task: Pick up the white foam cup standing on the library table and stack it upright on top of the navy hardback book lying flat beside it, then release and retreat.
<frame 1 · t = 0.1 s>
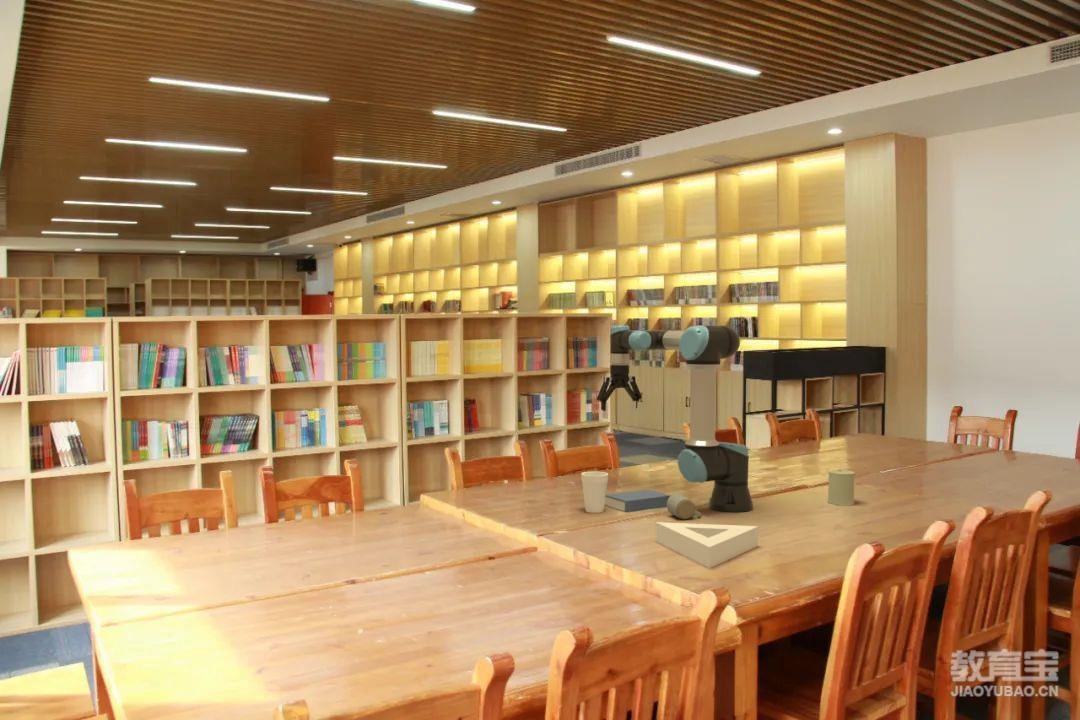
hand: (619, 417, 333), 28 cm above the table, tool pointing down, fingers open, 13 cm apart
book: (637, 507, 301), on the table
foam cup: (594, 511, 293), on the table
triangle block: (720, 552, 243), on the table
ceramic mug: (684, 517, 284), on the table
can: (840, 503, 307), on the table
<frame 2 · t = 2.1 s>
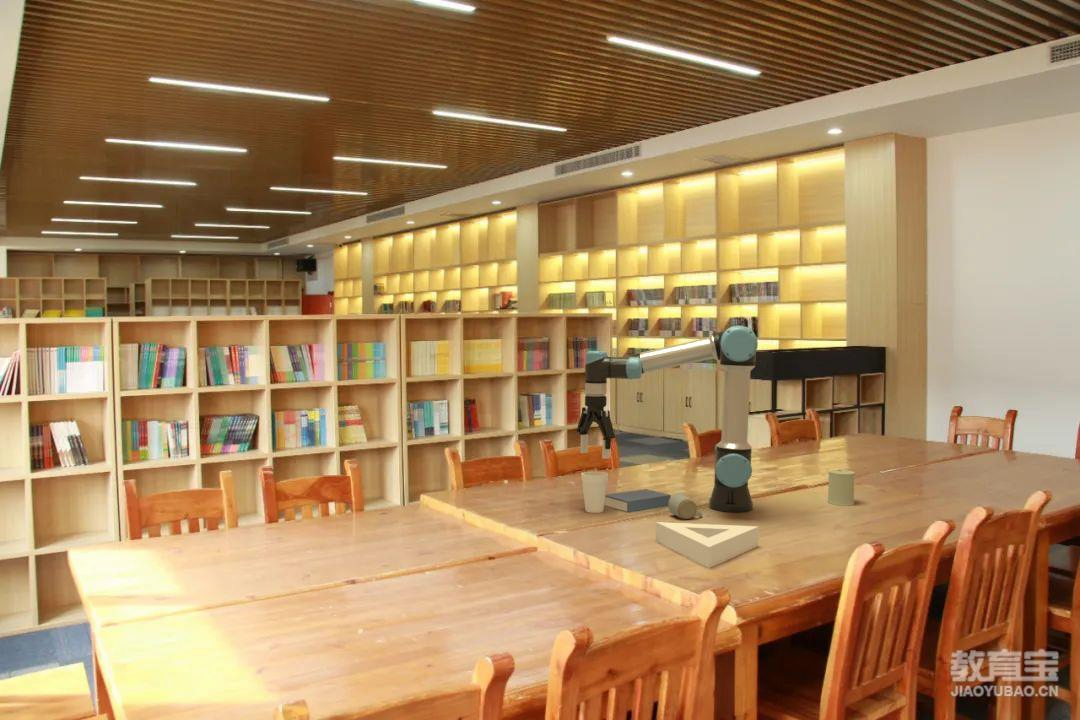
hand: (595, 455, 293), 19 cm above the table, tool pointing down, fingers open, 13 cm apart
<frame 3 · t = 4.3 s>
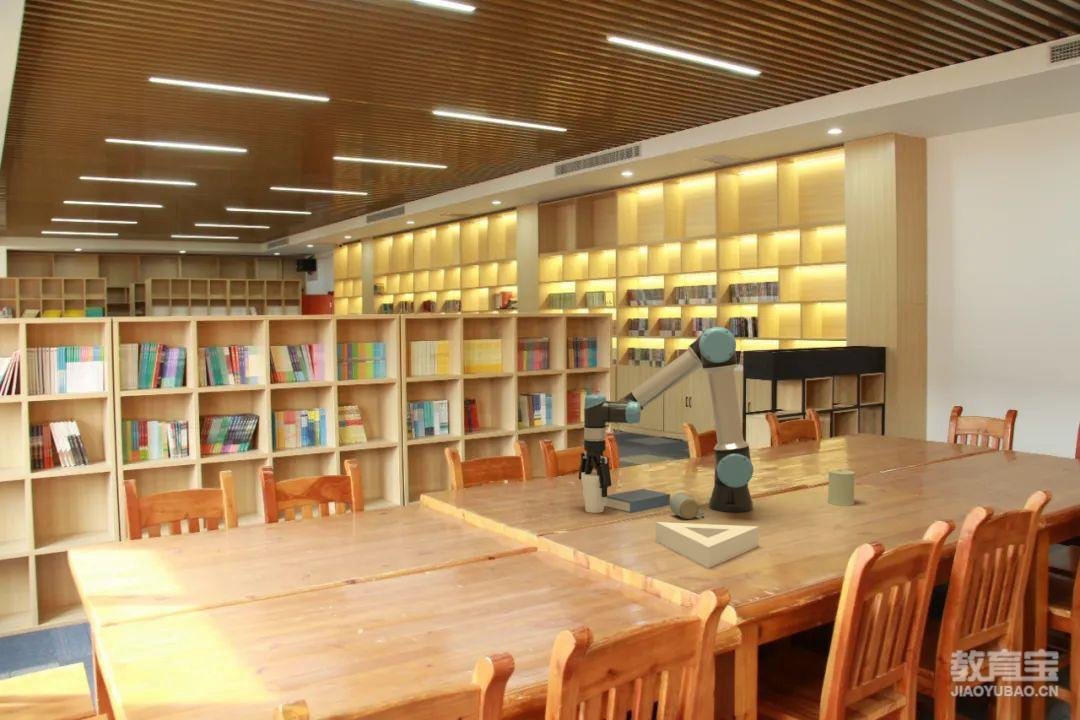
hand: (594, 503, 293), 3 cm above the table, tool pointing down, fingers closed on foam cup, 9 cm apart
foam cup: (594, 511, 293), on the table, touching gripper
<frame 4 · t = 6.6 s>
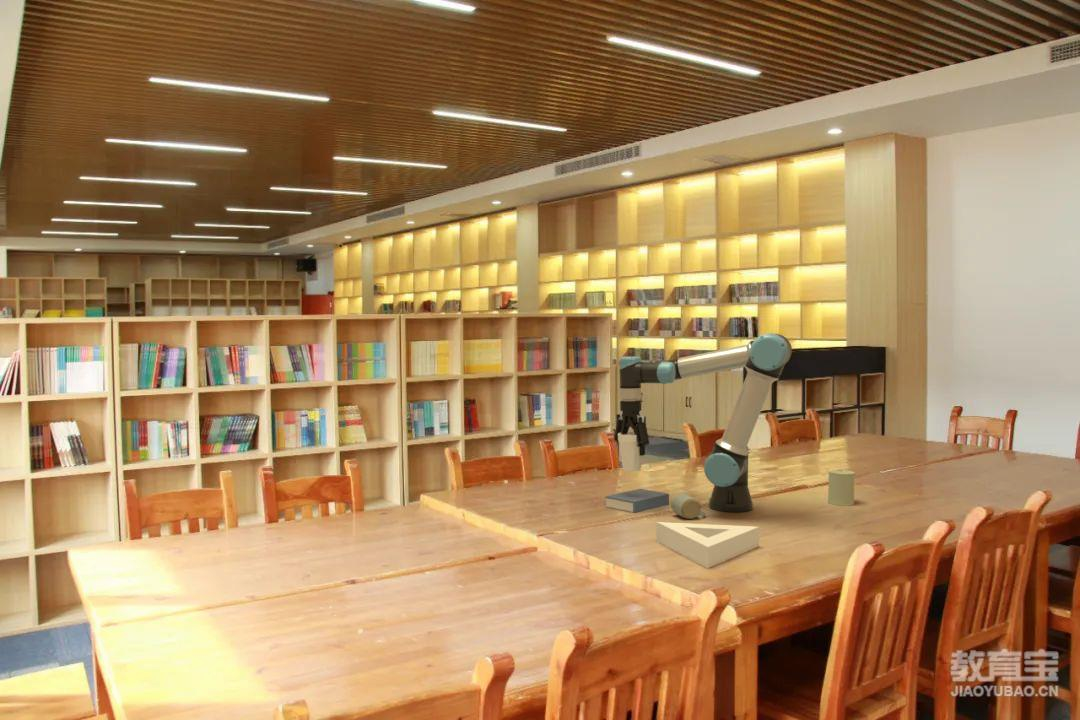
hand: (631, 462, 298), 16 cm above the table, tool pointing down, fingers closed on foam cup, 9 cm apart
foam cup: (631, 470, 299), point 13 cm above the table, touching gripper
when the fingers open (8 cm above the table, at t = 9.0 s): foam cup drops 2 cm, resting on book.
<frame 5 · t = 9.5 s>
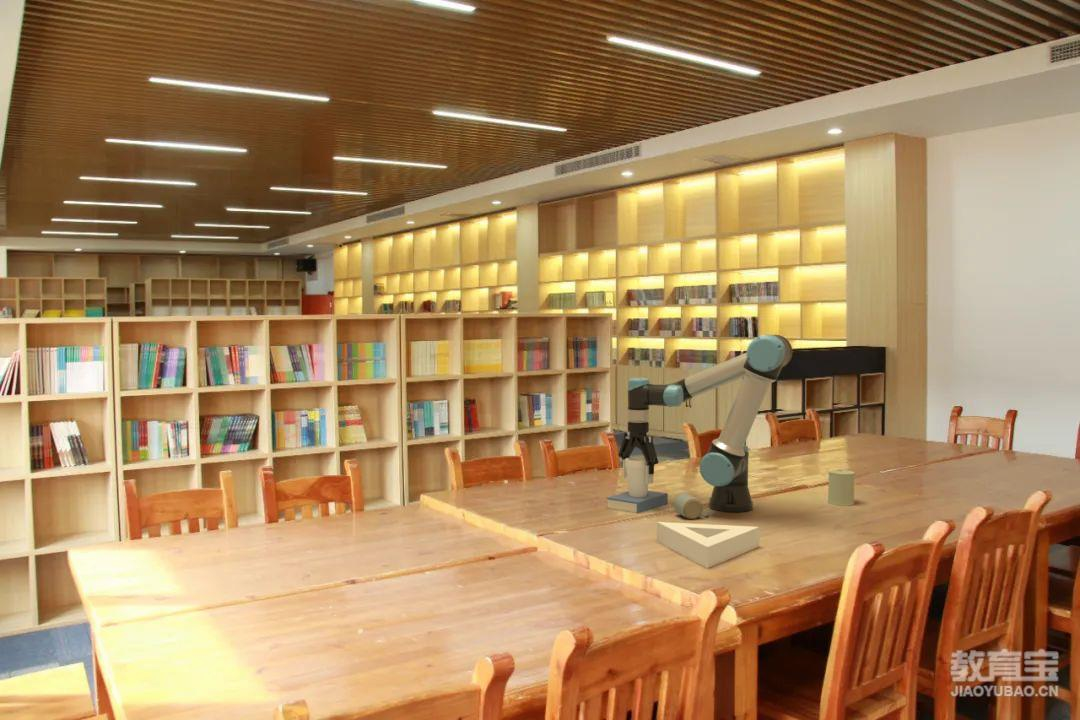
hand: (637, 480, 301), 9 cm above the table, tool pointing down, fingers open, 13 cm apart
book: (637, 507, 301), on the table, touching foam cup
foam cup: (638, 495, 301), point 4 cm above the table, touching book
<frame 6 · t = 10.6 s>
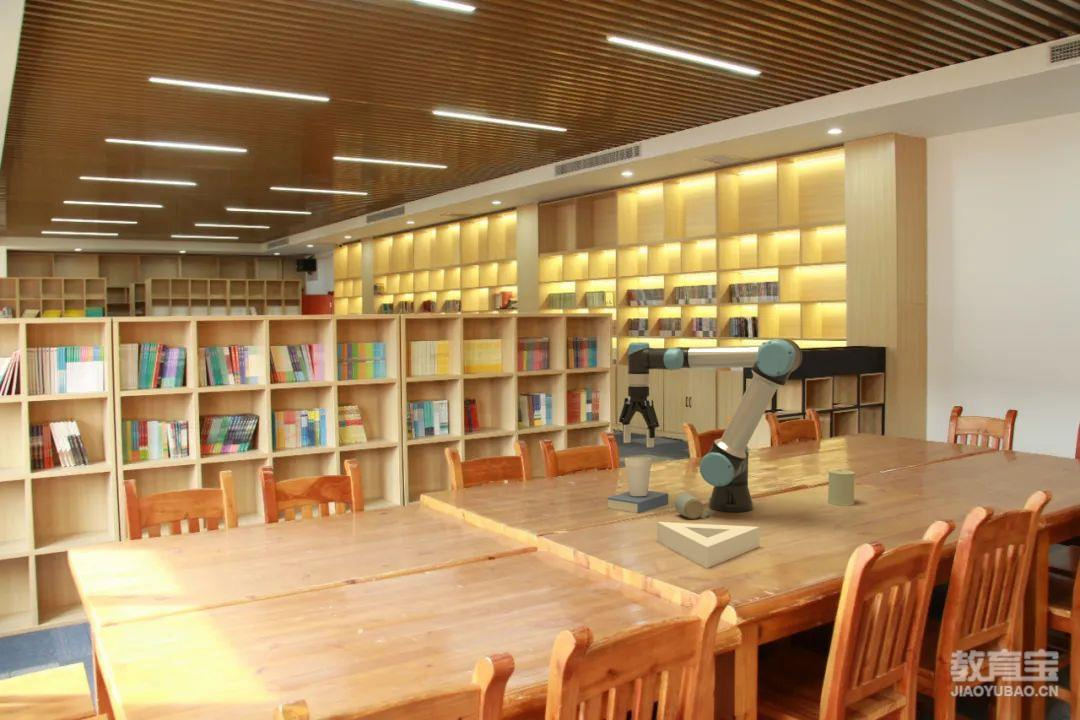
hand: (638, 444, 300), 22 cm above the table, tool pointing down, fingers open, 13 cm apart
book: (638, 507, 301), on the table
foam cup: (638, 495, 301), point 4 cm above the table
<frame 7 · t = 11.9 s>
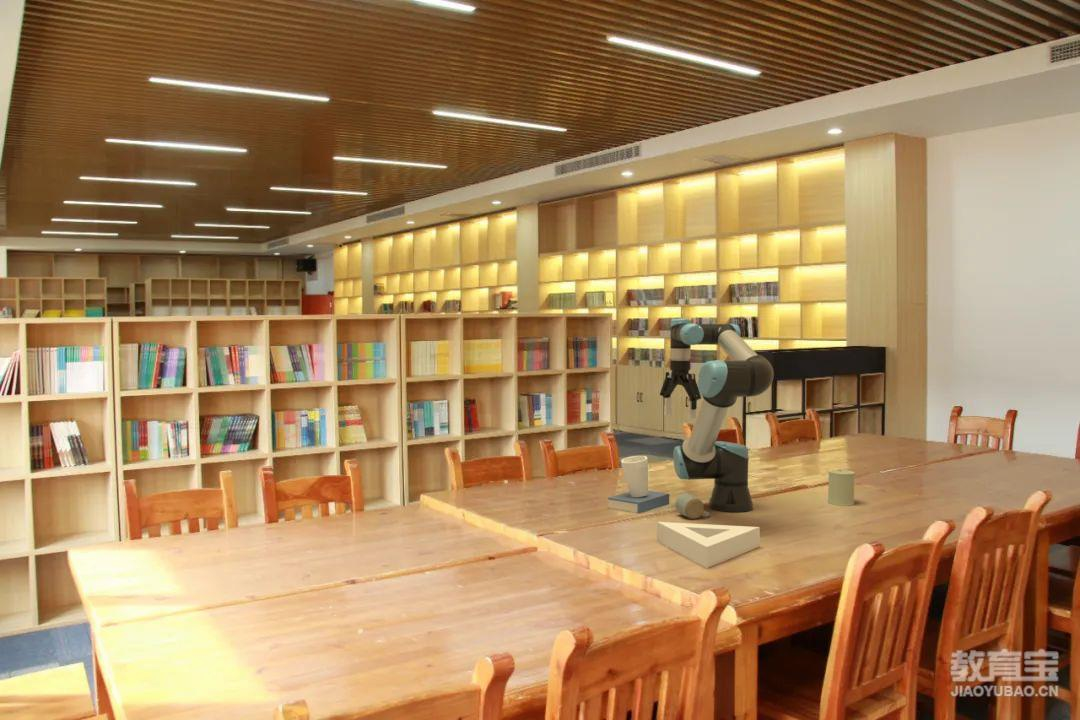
hand: (679, 416, 313), 31 cm above the table, tool pointing down, fingers open, 13 cm apart
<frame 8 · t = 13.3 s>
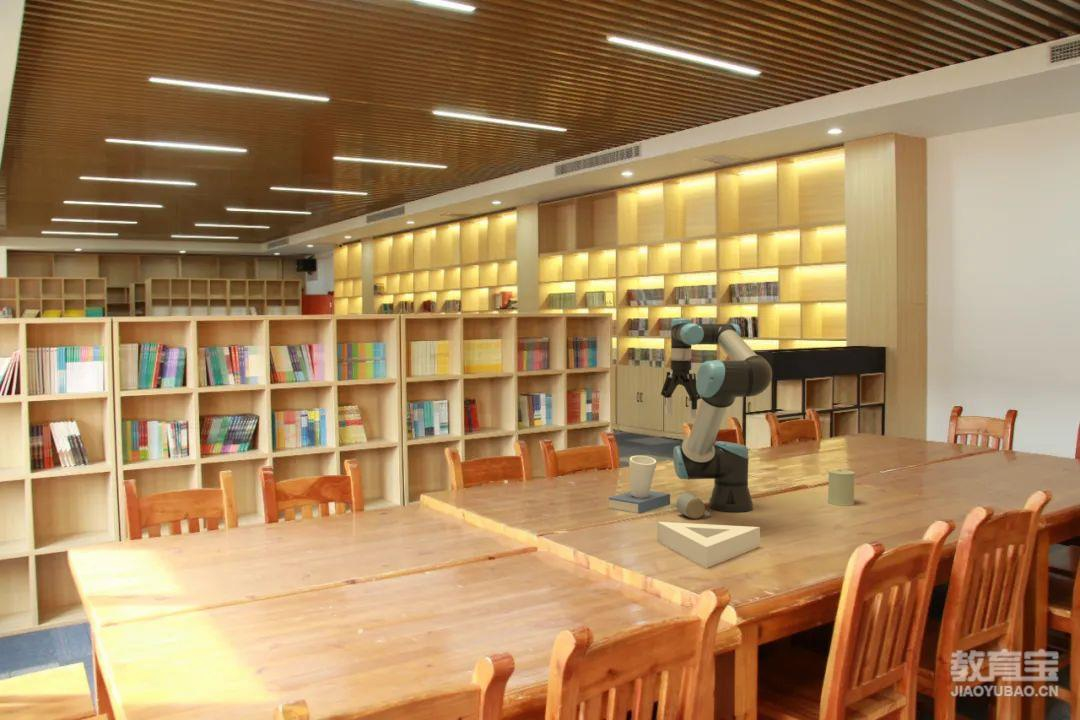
hand: (680, 416, 314), 31 cm above the table, tool pointing down, fingers open, 13 cm apart
at the end: foam cup inside the target area on the book (0.6 cm from its centre), point 4.8 cm above the book's base; foam cup tilted 11°; the gripper is holding nothing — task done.
